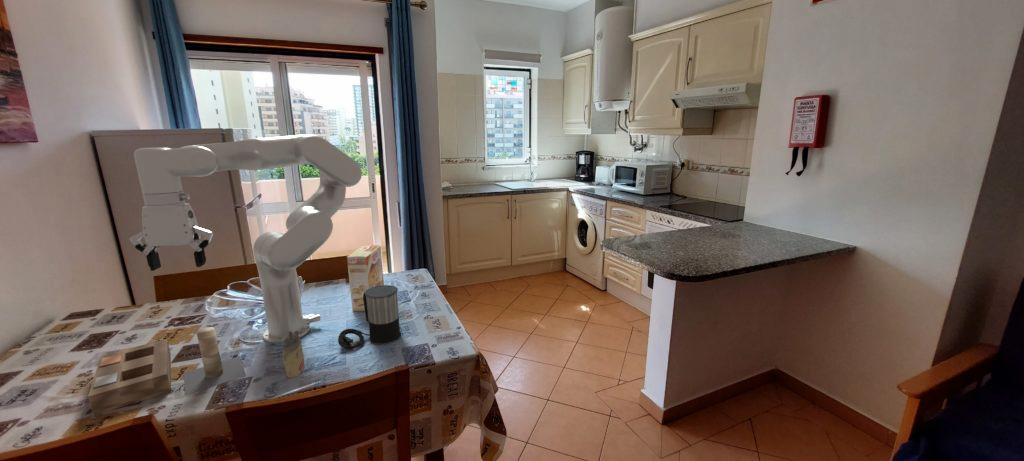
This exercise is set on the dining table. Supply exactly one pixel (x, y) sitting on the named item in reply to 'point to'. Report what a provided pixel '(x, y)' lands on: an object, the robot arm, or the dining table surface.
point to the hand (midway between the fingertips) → (178, 267)
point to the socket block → (131, 376)
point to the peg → (210, 352)
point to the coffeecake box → (364, 273)
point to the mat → (198, 380)
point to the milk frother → (377, 318)
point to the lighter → (293, 355)
